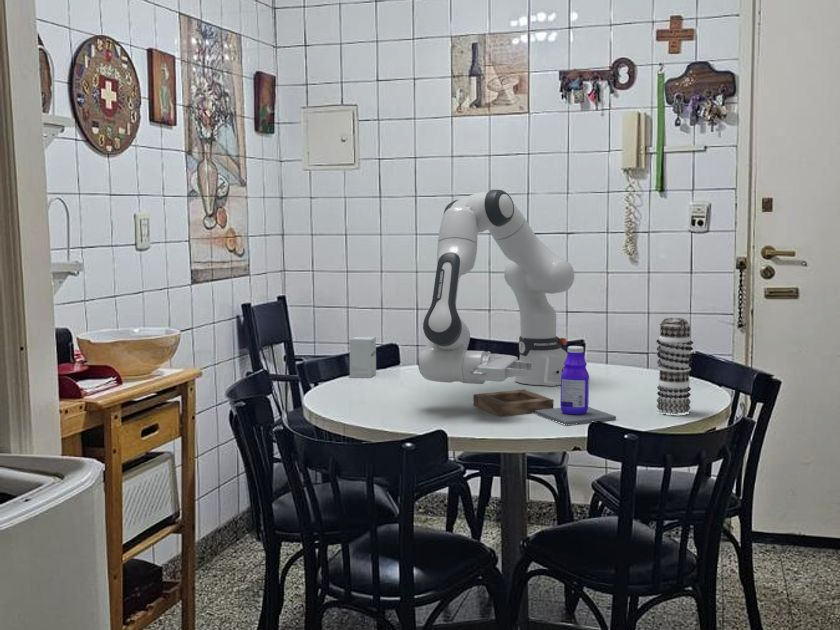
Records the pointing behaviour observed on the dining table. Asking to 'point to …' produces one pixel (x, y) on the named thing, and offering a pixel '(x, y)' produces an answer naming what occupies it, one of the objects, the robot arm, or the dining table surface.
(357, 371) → the supplement box
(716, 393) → the dining table surface
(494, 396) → the wooden square tray
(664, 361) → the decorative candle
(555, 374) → the robot arm
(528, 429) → the dining table surface
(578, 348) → the bottle
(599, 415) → the slate mat
